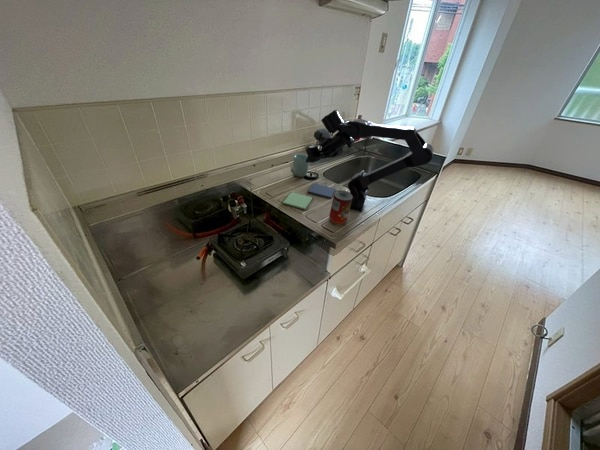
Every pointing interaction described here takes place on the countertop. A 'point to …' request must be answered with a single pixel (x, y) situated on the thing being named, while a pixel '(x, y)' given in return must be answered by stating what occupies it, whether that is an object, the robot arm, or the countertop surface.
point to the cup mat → (297, 200)
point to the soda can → (340, 207)
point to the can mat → (322, 190)
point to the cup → (300, 165)
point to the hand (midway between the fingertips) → (313, 159)
